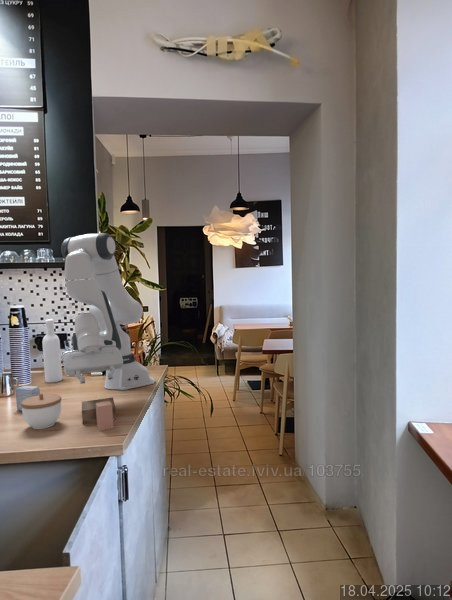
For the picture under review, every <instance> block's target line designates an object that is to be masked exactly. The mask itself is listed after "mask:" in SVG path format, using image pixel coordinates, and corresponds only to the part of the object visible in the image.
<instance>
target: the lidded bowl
mask: <svg viewBox="0 0 452 600" xmlns="http://www.w3.org/2000/svg"><path fill="white" fill-rule="evenodd" d="M21 407H22V411H21V412H22V413H21V414H22V417H23V419H24V421H25V423H26V424H27V425H28V426H30V427H31V429H33V430H44V429H49V428H51V427H53V426H55V425H56V422H57V421H58V420H59V418H60V416H61V413H62V396H61V395H60V394H56V393H45V394H44V393H43V392H42V393H41V392H40V394H39V395H37V396H33V397H30V398H27V399H25V400H23V401H22V402H21Z"/></svg>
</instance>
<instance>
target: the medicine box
mask: <svg viewBox="0 0 452 600" xmlns="http://www.w3.org/2000/svg"><path fill="white" fill-rule="evenodd" d="M14 390H15V391H14V392H15V399H16V400H15V401H16V409H17V411H21V412H22V407H21V402H22V401H23V400H25V399H27V398H30V397H33V396H37V395H39V394H41V388H40V386H36V385H35V386H34V385H23V386H19V387H17V388H15V389H14Z"/></svg>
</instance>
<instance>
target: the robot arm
mask: <svg viewBox="0 0 452 600" xmlns="http://www.w3.org/2000/svg"><path fill="white" fill-rule="evenodd" d="M116 250H117V246H116V241H115V239H114V237H113V236H112V235H111V234H110V233H107V232H99V233H86V234H85V233H84V234H81V235H76V236H70V237H68V238H65V239H64V240H63V242H62V243H61V251H60V252H61V255H62V256H63V259H64V260H65V262H64V278H65V286H66V291H67V294H68V296H69V297H70V298H71V299H72V300H74V301H76V302H79V303H81V304H85V305H90V306H89V311H88V312H83V313H79V314H77V315H76V316H75V318H74V333H73V334H72V336H71V343H72V350H67V351H65V352H63V353H62V354H61V362H63V371H64V374H65V376H75V377H76V378H77V379H78V380H79V384H80V385H81V384H82V385H83V384H85V383H86V377H85V376H82V374H88V373H95V372H103V371H104V372H105V381H104V388H105V389H107V390H120V391H126V390H130V389H134V388H139V387H144V386H148V385H153V384H155V381H156V380H155V378H154V377H152V376H150V373H149V370H148V368H147V367H146V366H144V365H143V364H141V362H138V361H136V360H139V355H138V354H134V353H132V349H131V348H132V347H131V346H132V345H131V338H130V335H129V334H128V333H126V331H124V330H123V328H122V327H121V325H131V324H135V323H138V322H139V321H141V319H142V317H143V313H144V312H143V311H144V309H143V307H142V304H141V303H140V302H139V301H137V300H136V299H134V298H133V297H132V296H131V295H130V294H129V292H128V291H127V290H126V288H125V286H124V284H123V281H122V277H121V274H120V270H119V266H118V263H117V260H116V256H115V254H116Z"/></svg>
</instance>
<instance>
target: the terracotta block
mask: <svg viewBox="0 0 452 600" xmlns="http://www.w3.org/2000/svg"><path fill="white" fill-rule="evenodd" d="M96 417H97V422H96V426H97V429H98V431H99V432H100V431H106V430H110V428H111V429H114V420H113V412H112V404H111V402H110V401H105V402H99V403H96ZM105 429H106V430H105Z"/></svg>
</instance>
